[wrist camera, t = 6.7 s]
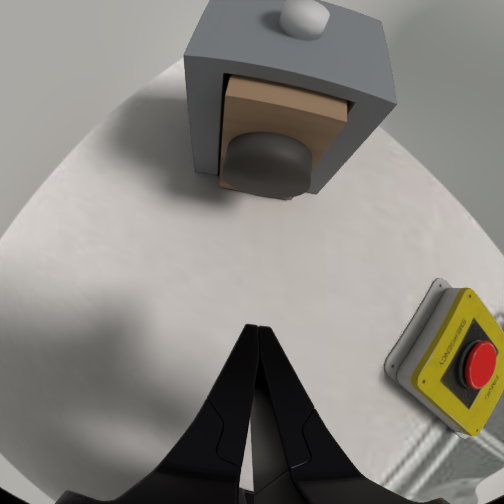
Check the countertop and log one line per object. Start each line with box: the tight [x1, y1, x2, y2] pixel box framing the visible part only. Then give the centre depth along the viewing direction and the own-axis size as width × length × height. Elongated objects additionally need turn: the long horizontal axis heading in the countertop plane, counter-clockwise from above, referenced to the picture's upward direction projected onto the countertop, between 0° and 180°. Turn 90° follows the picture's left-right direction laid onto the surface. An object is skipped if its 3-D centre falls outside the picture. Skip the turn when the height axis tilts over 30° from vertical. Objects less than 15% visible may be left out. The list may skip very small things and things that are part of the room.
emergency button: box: [384, 278, 504, 439], centre depth 19 cm, size 9×4×15 cm
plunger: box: [219, 74, 347, 200], centre depth 16 cm, size 6×5×10 cm
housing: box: [184, 0, 397, 194], centre depth 16 cm, size 6×9×13 cm
